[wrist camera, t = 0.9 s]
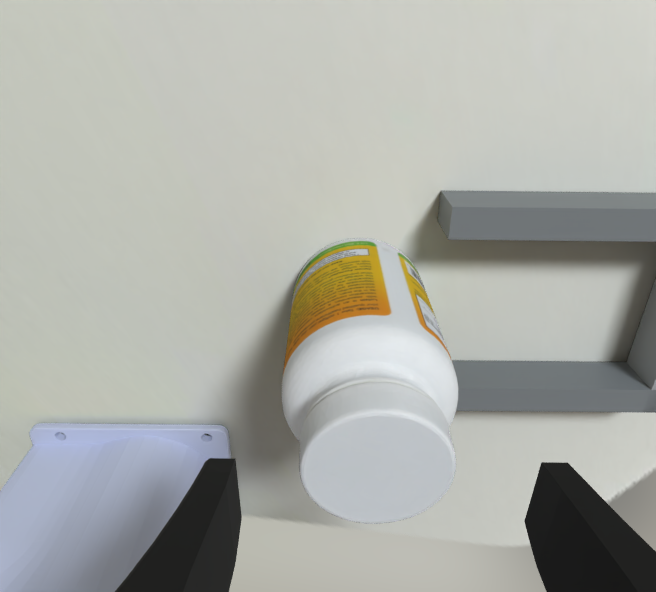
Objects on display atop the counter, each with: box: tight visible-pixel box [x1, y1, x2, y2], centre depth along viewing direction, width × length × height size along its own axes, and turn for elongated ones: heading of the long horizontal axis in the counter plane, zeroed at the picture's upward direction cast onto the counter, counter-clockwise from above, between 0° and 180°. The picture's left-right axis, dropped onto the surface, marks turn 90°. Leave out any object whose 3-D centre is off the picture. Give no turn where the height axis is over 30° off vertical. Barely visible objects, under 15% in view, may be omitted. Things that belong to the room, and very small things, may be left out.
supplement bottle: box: [282, 238, 458, 524], centre depth 17 cm, size 5×5×10 cm
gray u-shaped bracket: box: [438, 191, 656, 412], centre depth 20 cm, size 10×9×2 cm
